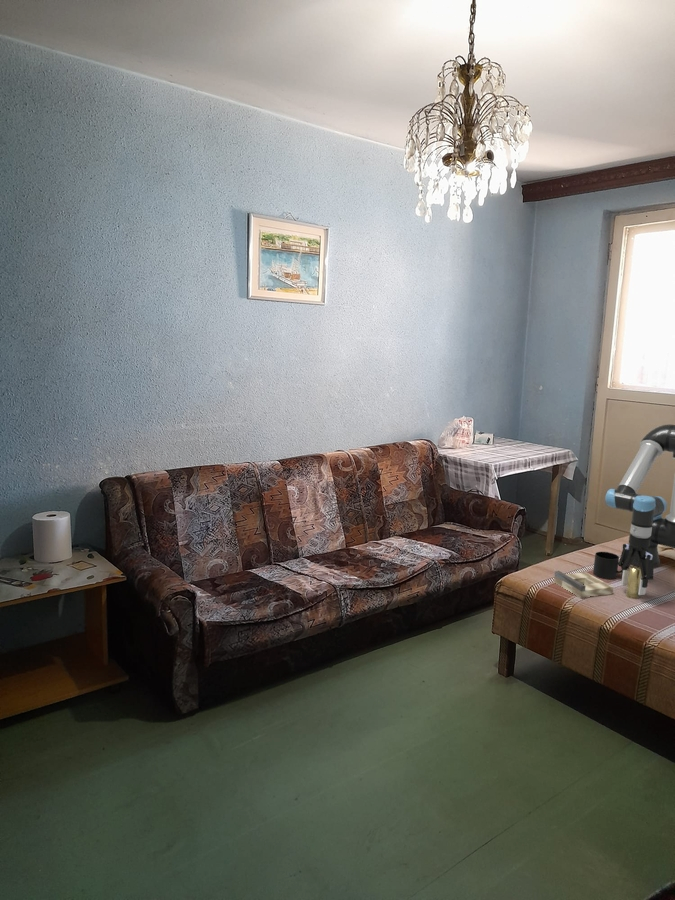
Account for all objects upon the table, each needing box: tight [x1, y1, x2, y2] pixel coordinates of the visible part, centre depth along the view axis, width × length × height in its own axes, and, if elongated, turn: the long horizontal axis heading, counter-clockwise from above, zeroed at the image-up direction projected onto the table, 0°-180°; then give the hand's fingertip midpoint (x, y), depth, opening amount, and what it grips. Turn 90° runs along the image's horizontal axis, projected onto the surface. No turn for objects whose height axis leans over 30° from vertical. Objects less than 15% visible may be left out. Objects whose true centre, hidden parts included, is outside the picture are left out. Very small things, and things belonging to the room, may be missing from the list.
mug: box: [592, 551, 622, 580], centre depth 273 cm, size 9×12×9 cm
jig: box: [553, 570, 614, 599], centre depth 259 cm, size 16×16×5 cm
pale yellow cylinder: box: [625, 565, 642, 600], centre depth 252 cm, size 4×4×12 cm
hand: (632, 589), depth 253 cm, fingers open, 8 cm apart
